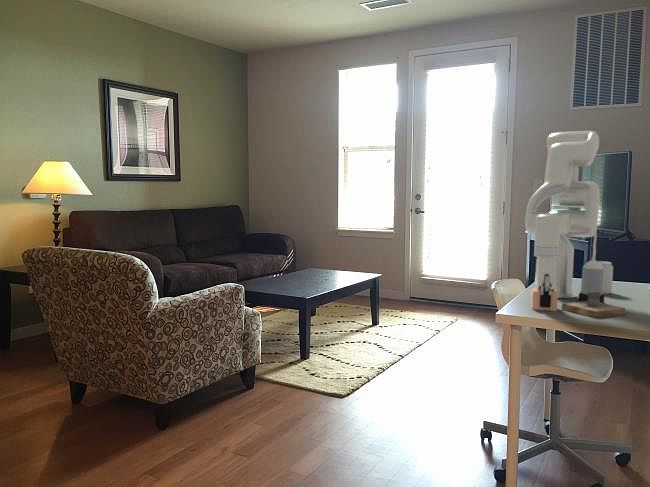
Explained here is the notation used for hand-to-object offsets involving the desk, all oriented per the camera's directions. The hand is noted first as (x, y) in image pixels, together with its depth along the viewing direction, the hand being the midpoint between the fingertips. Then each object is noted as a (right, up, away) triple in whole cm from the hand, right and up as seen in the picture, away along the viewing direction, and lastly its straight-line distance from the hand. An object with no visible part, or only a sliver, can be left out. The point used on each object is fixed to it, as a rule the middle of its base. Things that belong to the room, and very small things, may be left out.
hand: (543, 304), depth 184 cm
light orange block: (0, -1, 0) cm, 1 cm away
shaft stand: (+14, -2, -4) cm, 15 cm away
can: (+33, +1, +29) cm, 44 cm away
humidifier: (+21, -1, +10) cm, 23 cm away
